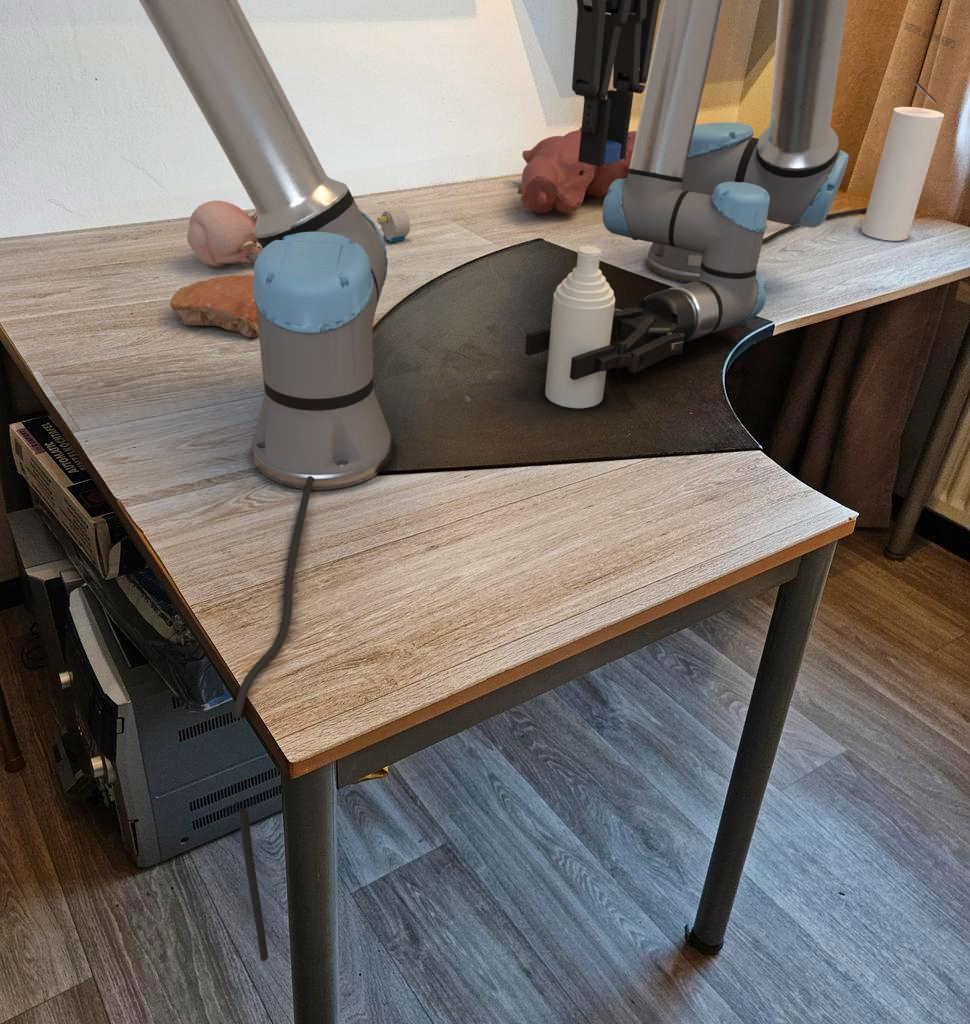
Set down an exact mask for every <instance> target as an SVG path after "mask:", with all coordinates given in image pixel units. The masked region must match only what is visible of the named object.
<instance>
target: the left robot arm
mask: <svg viewBox="0 0 970 1024" xmlns="http://www.w3.org/2000/svg"><path fill="white" fill-rule="evenodd" d="M661 1H662V0H576V6H577V13H576V26H575V27H576V28H575V39H574V52H573V67H572V82H571V90H572V91H573V92H574V94H575V95H576V96H580V97H583V110H582V118H581V127H582V129H581V139H580V148H579V158H578V162H582V163H586V164H590V165H595V166H599V167H600V166H603V165H604V157H605V149H606V141H607V140H612V141H616V142H619V143H620V144H621V145H622V146H621V153H620V159H621V160H622V159H625V154H626V147H627V139H628V133H629V132H630V131H629V130H630V123H631V115H632V108H633V100H634V93H635V94H639V95H641V94H643V93H644V92H645V89H646V85H644V84H647V80H648V75H649V71H650V66H651V61H652V55H653V49H654V48H653V47H654V41H655V35H656V28H657V23H658V17H659V11H660V10H659V9H660V4H661ZM138 2H139V3H140V5H141V7H142V8H143V10H144V13H145V14H146V16H147V17H148V19H149V21H150V23H151V24H152V26H153V28H154V30H155V31H156V34H157V35H158V37H159V38H160V41H161V42H162V44H163V46H164V48H165V49H166V51H167V53H168V54H169V57H170V58H171V60H172V62H173V64H174V65H175V67H176V69H177V71H178V73H179V75H180V76H181V78H182V80H183V82H184V83H185V85H186V87H187V89H188V90H189V92H190V94H191V96H192V98H193V99H194V102H195V103H196V105H197V107H198V108H199V110H200V113H201V114H202V115H203V117H204V119H205V121H206V122H207V124H208V126H209V128H210V130H211V132H212V133H213V135H214V137H215V138H216V141H217V142H218V144H219V146H220V147H221V149H222V151H223V153H224V154H225V157H226V158H227V159H228V162H229V164H230V166H231V167H232V169H233V171H234V173H235V174H236V176H237V178H238V180H239V181H240V184H241V185H242V187H243V188H244V190H245V192H246V194H247V196H248V197H249V200H250V201H251V203H252V204H253V207H254V209H255V211H257V212H258V218H257V222H256V226H255V230H254V234H255V236H256V238H257V239H258V241H259V243H258V244H259V246H260V247H261V248H262V251H261V252H260V253H259V254H257V256H256V259H255V262H254V265H253V266H254V267H253V275H254V280H253V292H254V300H255V302H256V309H257V319H258V329H259V334H258V338H259V339H258V340H259V349H260V359H261V369H262V379H263V388H264V390H263V391H264V396H263V400H262V404H261V408H260V412H259V415H258V419H257V423H256V427H255V430H254V434H253V438H252V442H251V443H252V445H251V446H252V455H253V460H254V464H255V467H256V468H257V470H258V471H259V472H260V473H261V474H262V475H263V476H265V477H266V478H268V479H269V480H271V481H273V482H275V483H278V484H280V485H283V486H286V487H290V488H295V489H301V490H303V493H302V497H301V500H300V504H299V509H298V512H297V516H296V520H295V525H294V531H293V535H292V539H291V544H290V550H289V554H288V559H287V560H288V561H287V565H286V566H287V567H286V572H285V578H284V587H283V590H284V591H283V610H282V618H281V623H280V627H279V630H278V633H277V635H276V638H275V640H274V642H273V644H272V645H271V646H270V648H269V649H268V650H267V651H266V652H265V653H264V655H263V656H261V657H260V659H258V661H257V662H255V664H254V665H253V666H252V667H251V669H250V670H249V671H248V673H247V674H246V675H245V677H244V679H243V681H242V682H241V684H240V687H239V689H238V692H237V694H236V698H235V700H234V701H235V702H234V705H233V710H232V718H234V719H239V718H240V717H241V716H242V715H243V710H244V706H245V702H246V699H247V697H248V695H249V694H248V693H249V691H250V688H251V687H252V685H253V683H254V681H255V679H256V678H257V677H258V676H259V674H260V673H261V672H262V671H263V670H264V668H265V667H266V666H268V664H269V663H271V661H273V659H274V658H275V657H276V655H278V653H279V651H280V650H281V648H282V647H283V645H284V643H285V640H286V637H287V634H288V631H289V627H290V625H291V624H290V623H291V618H292V612H293V611H292V609H293V587H294V586H293V585H294V577H295V570H296V569H295V568H296V563H297V557H298V551H299V545H300V540H301V535H302V532H303V525H304V522H305V516H306V513H307V508H308V504H309V500H310V496H311V492H312V491H314V490H315V491H323V490H327V491H328V490H337V489H342V488H348V487H351V486H355V485H358V484H361V483H363V482H366V481H368V480H370V479H373V478H374V477H375V476H377V475H378V474H380V473H381V472H382V471H383V470H384V469H385V468H386V467H387V466H388V464H389V463H390V461H391V458H392V434H391V431H390V430H389V427H388V424H387V422H386V419H385V417H384V413H383V411H382V408H381V406H380V403H379V400H378V398H377V395H376V393H375V385H374V341H373V340H374V339H373V338H374V336H373V333H374V320H375V317H376V311H377V307H378V305H379V301H380V298H381V294H382V291H383V287H384V286H385V282H386V279H387V275H388V265H389V264H388V263H389V261H388V257H387V254H388V251H387V247H386V243H385V241H384V240H385V239H384V236H383V235H382V232H381V230H380V229H379V228H378V226H377V224H376V223H375V221H373V219H372V218H371V217H370V216H369V215H368V214H367V213H365V212H364V211H362V210H361V209H360V208H359V207H358V205H357V202H356V200H355V199H354V197H353V195H352V192H351V191H350V189H349V187H348V185H347V184H346V183H344V182H342V181H339V180H336V179H333V178H330V177H329V176H328V175H327V174H326V172H325V170H324V167H323V166H322V163H321V162H320V160H319V158H318V155H317V154H316V152H315V150H314V148H313V146H312V145H311V142H310V140H309V138H308V137H307V134H306V132H305V130H304V129H303V126H302V125H301V123H300V121H299V118H298V116H297V115H296V112H295V111H294V109H293V107H292V105H291V102H290V101H289V99H288V97H287V95H286V93H285V91H284V89H283V87H282V86H281V83H280V82H279V80H278V78H277V77H278V76H276V73H275V71H274V70H273V68H272V66H271V64H270V61H269V59H268V58H267V56H266V54H265V52H264V49H263V48H262V46H261V44H260V42H259V40H258V38H257V36H256V34H255V31H254V30H253V28H252V27H251V25H250V23H249V21H248V18H247V16H246V15H245V13H244V11H243V9H242V6H241V5H240V3H239V1H238V0H138ZM612 77H613V78H612ZM611 78H612V88H613V89H609V88H610V82H611ZM238 811H239V812H238V813H239V814H238V815H239V822H240V832H241V841H242V849H243V855H244V864H245V869H246V870H245V871H246V877H247V883H248V888H249V895H250V900H251V906H252V912H253V913H252V914H253V918H254V924H255V930H256V937H257V944H258V951H259V958H260V961H262V962H265V961H267V960H268V959H269V953H268V946H267V945H268V944H267V937H266V931H265V923H264V918H263V910H262V905H261V898H260V892H259V886H258V880H257V879H258V878H257V872H256V865H255V859H254V851H253V846H252V845H253V842H252V835H251V825H250V816H249V810H247V809H244V808H241V807H238Z"/></svg>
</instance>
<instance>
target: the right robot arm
mask: <svg viewBox="0 0 970 1024" xmlns="http://www.w3.org/2000/svg"><path fill="white" fill-rule="evenodd" d="M724 2H725V0H663V4H662V9H661V12H660V13H661V14H660V19H659V23H658V28H657V34H656V38H655V43H654V46H653V47H654V48H653V50H652V55H651V60H650V67H649V73H648V78H647V81H646V85H645V89H644V94H643V99H642V104H641V109H640V114H639V119H638V124H637V127H636V129H637V130H636V131H637V133H636V138H635V142H634V147H633V152H632V157H631V161H630V166H629V173H628V176H627V178H625V179H617V180H615V181H613V182H612V184H611V185H610V187H609V189H608V192H607V196H606V197H604V199H603V205H602V222H603V225H604V228H605V229H606V230H607V232H609V233H610V234H614V235H618V236H622V237H624V238H625V237H626V238H629V239H632V241H643V242H648V243H651V245H650V247H649V249H648V252H647V258H646V265H647V267H648V269H650V270H651V272H653V273H655V274H657V275H659V276H662V277H663V278H667V279H670V280H673V281H678V282H684V283H683V284H680V285H676V286H673V287H670V288H666V289H664V290H660V291H656V292H653V293H650V294H648V295H646V296H645V297H644V298H643V299H642V300H641V301H640V303H639V304H638V305H637V306H636V307H626V308H624V309H619V308H616V305H615V306H614V314H613V322H612V330H611V338H610V340H619V339H620V340H621V339H624V340H623V341H617V346H614V345H613V344H610V345H608V346H605V347H602V348H599V349H596V350H592V351H589V352H586V353H583V354H580V355H577V356H574V357H572V360H571V370H570V378H571V379H573V380H576V379H579V378H582V377H585V376H588V375H591V374H594V373H596V372H599V371H606V372H607V371H608V370H611V369H614V368H615V369H616V368H617V369H624V368H628V372H630V373H634V374H635V373H638V372H641V371H643V370H644V369H646V368H648V367H650V366H652V365H655V364H656V363H659V362H661V361H662V360H664V359H666V358H668V357H671V356H672V357H673V356H676V355H680V354H682V353H683V350H684V344H685V343H687V342H690V341H693V340H695V339H698V338H701V337H705V336H707V335H711V334H713V333H714V334H715V333H717V332H720V331H723V330H726V329H729V328H734V327H738V326H740V325H742V324H744V323H745V322H748V321H750V320H752V319H754V318H755V317H757V316H758V315H759V314H760V313H761V312H762V310H763V309H764V307H765V304H766V301H767V292H766V287H765V285H766V284H765V281H764V279H763V278H762V276H761V275H760V273H758V272H757V268H758V264H759V259H760V255H761V251H762V245H763V244H765V243H767V242H769V241H772V240H773V239H775V238H777V237H778V236H780V235H782V234H784V233H787V232H789V231H791V230H794V229H796V228H799V227H803V228H811V229H813V228H818V227H819V226H821V225H822V224H823V223H824V222H825V221H826V220H827V219H828V220H829V219H832V218H838V217H843V216H848V215H854V214H859V213H866V211H867V208H868V206H866V207H862V208H857V209H855V208H854V209H851V210H850V209H849V210H844V211H839V212H833V213H829V212H830V211H831V209H832V207H833V204H834V201H835V199H836V196H837V194H838V191H839V189H840V186H841V184H842V180H843V178H844V176H845V173H846V169H847V166H848V163H849V154H848V153H847V152H845V151H844V150H843V149H839V136H838V135H837V133H836V131H835V130H834V129H833V128H832V127H831V123H832V115H833V108H834V100H835V93H836V87H837V80H838V79H837V78H838V73H839V65H840V64H839V63H840V58H841V51H842V43H843V38H844V31H845V24H846V23H845V22H846V16H847V8H848V2H849V0H778V9H777V11H778V13H777V23H776V26H777V27H776V37H775V50H774V61H773V75H772V88H771V101H770V112H769V124H768V125H769V126H768V127H767V128H766V129H764V131H763V132H762V133H761V134H760V136H759V138H758V137H754V135H755V134H754V129H753V126H752V125H750V124H746V123H742V122H726V121H725V122H723V121H722V122H721V121H720V122H707V123H700V124H697V119H698V114H699V110H700V106H701V102H702V97H703V93H704V89H705V84H706V79H707V76H708V71H709V68H710V62H711V59H712V54H713V50H714V46H715V42H716V36H717V32H718V30H719V29H718V28H719V24H720V20H721V15H722V11H723V7H724ZM838 149H839V150H838ZM768 222H774V223H778V224H784V225H788V226H786V227H784V228H782V229H780V230H777V231H776V232H773V233H772V234H770V235H767V237H765V232H766V231H767V227H768V225H767V223H768ZM550 331H551V325H549V326H547V327H543V328H541V329H537V330H534V331H531V332H527V333H526V336H525V348H524V349H525V350H524V354H525V355H526V356H529V357H530V356H533V355H536V354H540V353H542V352H546V351H549V343H550Z"/></svg>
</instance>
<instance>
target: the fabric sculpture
mask: <svg viewBox="0 0 970 1024" xmlns="http://www.w3.org/2000/svg"><path fill="white" fill-rule="evenodd" d="M581 129H582V126H580V127H579V129H576V130H573V131H570V132H568V133H566V134H565V135H554V136H549V137H546V138H544V139H542V140H540V141H539V142H538V143H536V145H535V146H534V147H532V148H531V149H529V150H523V151H522V153H521V156H522V158H523V160H524V162H525V163H526V164H525V166H524V168H523V170H522V172H521V173H522V174H521V180H520V181H521V182H520V185H519V186H518V189H517V194H518V195H520V200H521V202H522V203H523V207H524V209H525V210H529V211H530V212H532V213H535V214H546V213H549V212H551V211H552V210H553V209H554V208H555V209H556V210H557V211H559V212H560V213H564V214H569V213H573V212H575V211H578V209H579V208H581V206H582V203H584V199H585V195H591V196H593V197H596V198H599V197H604V198H605V197H606V196H607V192H608V189H609V187H610V185H611V184H612V182H613V181H615V180H617V179H625V178H627V176H628V173H629V166H630V161H631V157H632V152H633V147H634V142H635V138H636V133H637V130H631V131H629V132H628V139H627V147H626V154H625V159H622V160H621V159H620V160H619V161H618V162H615V163H604V165H603V166H600V167H599V166H595V165H590V164H586V163H582V162H578V158H579V148H580V139H581Z"/></svg>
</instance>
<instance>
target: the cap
mask: <svg viewBox="0 0 970 1024" xmlns="http://www.w3.org/2000/svg"><path fill="white" fill-rule="evenodd" d="M621 146H622V145H621V144H620V143H619V142H616V141H612V140H607V141H606V149H605V157H604V163H615V162H618V161H619V160H620V153H621Z"/></svg>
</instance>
